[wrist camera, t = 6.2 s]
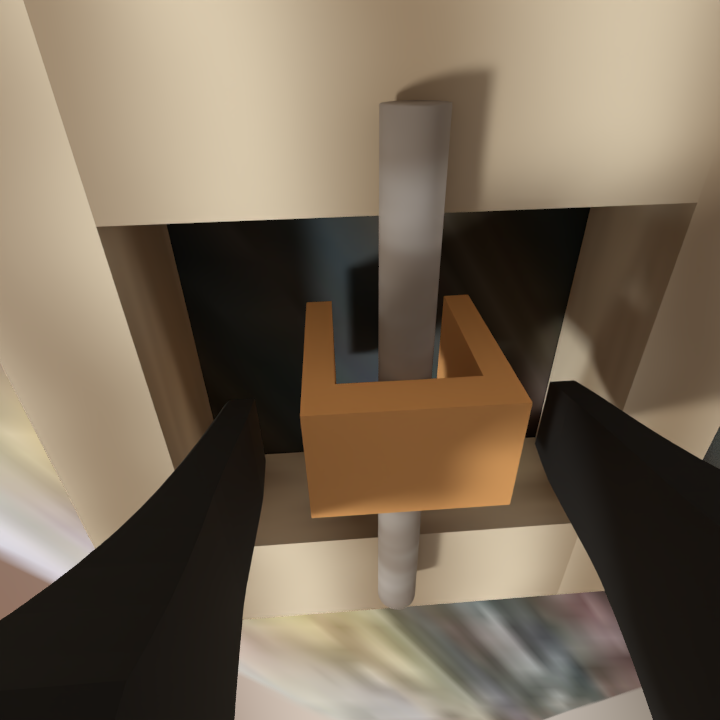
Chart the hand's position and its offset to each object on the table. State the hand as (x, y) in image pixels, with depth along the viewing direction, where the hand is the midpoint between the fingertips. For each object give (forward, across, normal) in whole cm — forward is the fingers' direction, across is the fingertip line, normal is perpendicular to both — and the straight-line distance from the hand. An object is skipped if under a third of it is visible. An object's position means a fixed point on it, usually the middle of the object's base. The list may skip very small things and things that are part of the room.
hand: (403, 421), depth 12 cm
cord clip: (+3, 0, 0) cm, 3 cm away
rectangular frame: (+4, 0, 0) cm, 4 cm away
